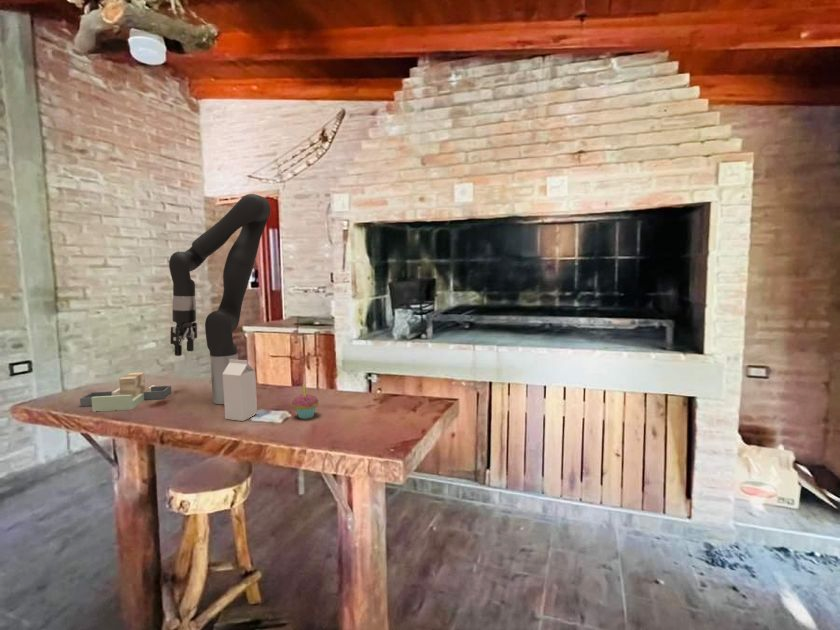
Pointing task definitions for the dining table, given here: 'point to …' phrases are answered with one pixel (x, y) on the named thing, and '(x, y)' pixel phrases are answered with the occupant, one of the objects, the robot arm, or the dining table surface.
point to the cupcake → (305, 405)
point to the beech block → (132, 384)
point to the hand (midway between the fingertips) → (184, 353)
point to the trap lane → (122, 399)
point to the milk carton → (239, 390)
